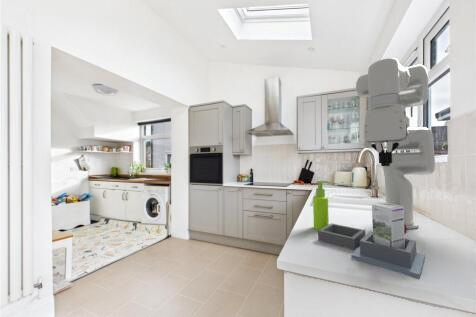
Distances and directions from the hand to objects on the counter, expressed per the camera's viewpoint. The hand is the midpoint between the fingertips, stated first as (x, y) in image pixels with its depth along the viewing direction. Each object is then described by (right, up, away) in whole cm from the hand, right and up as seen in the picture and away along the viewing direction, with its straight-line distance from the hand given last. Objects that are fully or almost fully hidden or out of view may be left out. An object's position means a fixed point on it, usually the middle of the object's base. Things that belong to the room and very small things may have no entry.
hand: (385, 165), depth 60 cm
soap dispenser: (-8, -28, +26) cm, 39 cm away
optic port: (0, -27, -1) cm, 27 cm away
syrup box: (+1, -26, -1) cm, 26 cm away
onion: (+15, -27, +15) cm, 34 cm away
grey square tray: (-6, -27, +13) cm, 31 cm away
